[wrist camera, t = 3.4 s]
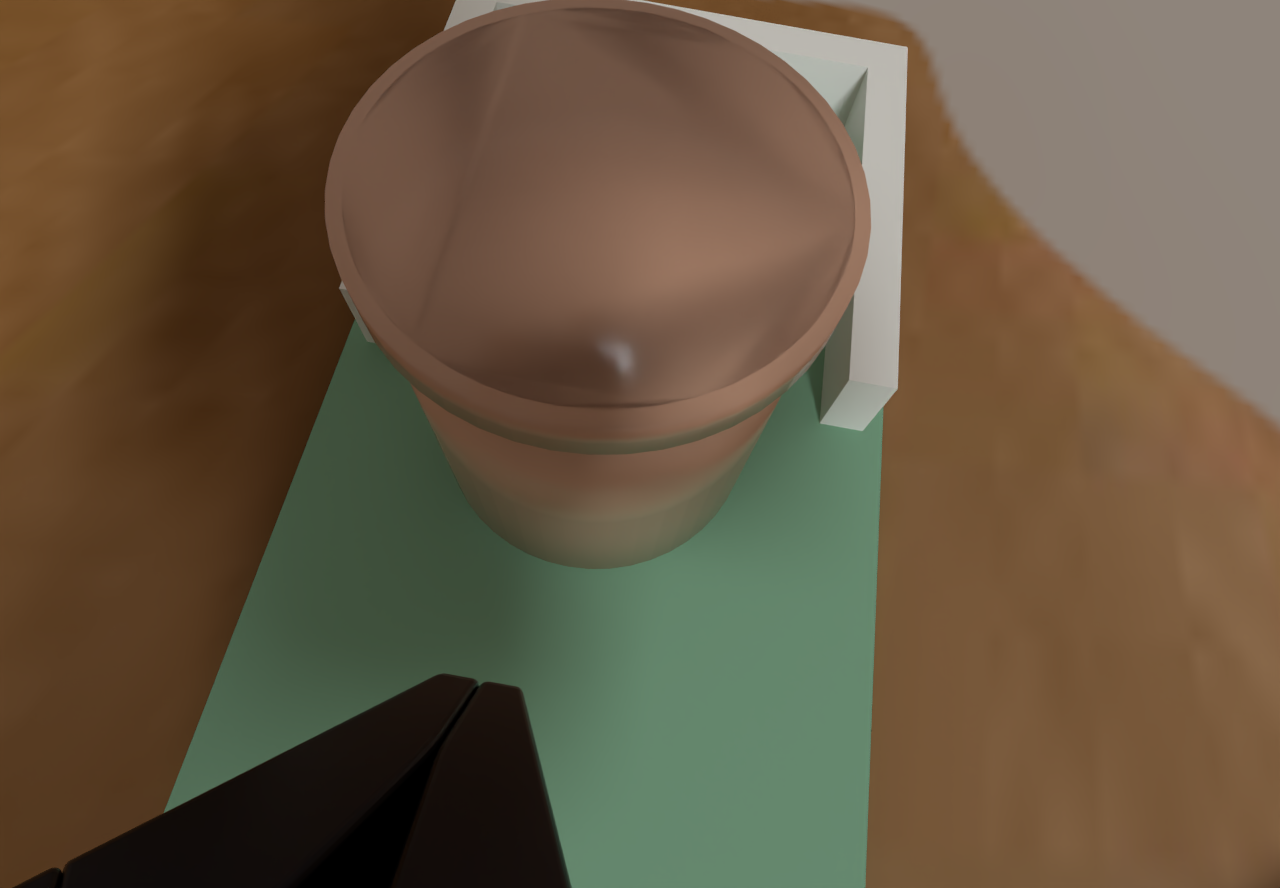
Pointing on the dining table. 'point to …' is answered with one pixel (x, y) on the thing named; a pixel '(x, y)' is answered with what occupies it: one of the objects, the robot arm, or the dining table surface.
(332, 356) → the dining table surface
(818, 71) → the white rail holder
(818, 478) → the green mat
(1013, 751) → the dining table surface
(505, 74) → the terracotta pot
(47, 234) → the dining table surface
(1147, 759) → the dining table surface
